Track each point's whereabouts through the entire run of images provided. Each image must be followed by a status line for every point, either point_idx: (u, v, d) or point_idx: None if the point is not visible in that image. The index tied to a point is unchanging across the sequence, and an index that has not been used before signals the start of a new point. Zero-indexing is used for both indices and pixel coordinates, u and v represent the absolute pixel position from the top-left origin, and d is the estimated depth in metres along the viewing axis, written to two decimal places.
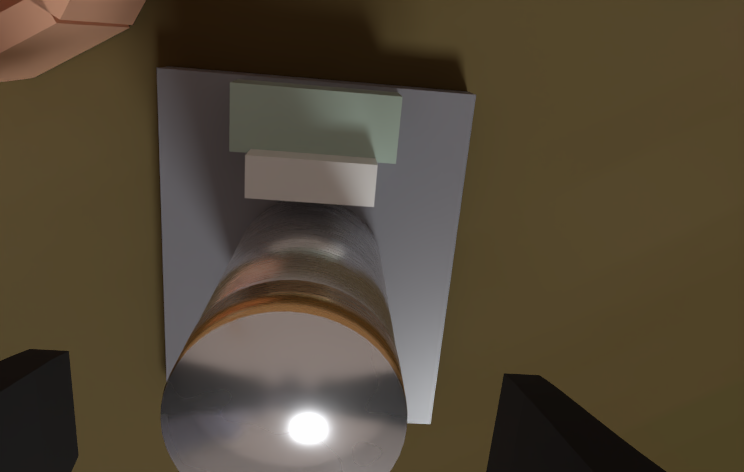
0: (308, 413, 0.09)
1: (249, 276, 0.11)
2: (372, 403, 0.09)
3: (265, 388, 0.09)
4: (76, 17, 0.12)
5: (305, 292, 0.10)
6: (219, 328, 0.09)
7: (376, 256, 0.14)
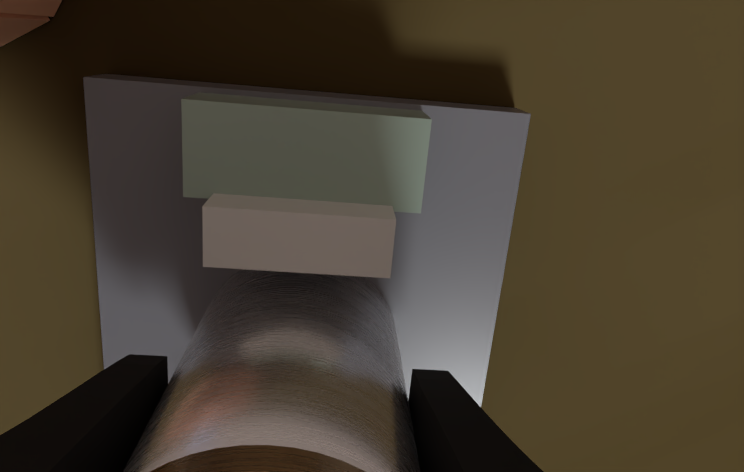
0: None
1: (191, 424, 0.07)
2: None
3: None
4: None
5: None
6: None
7: (392, 342, 0.10)
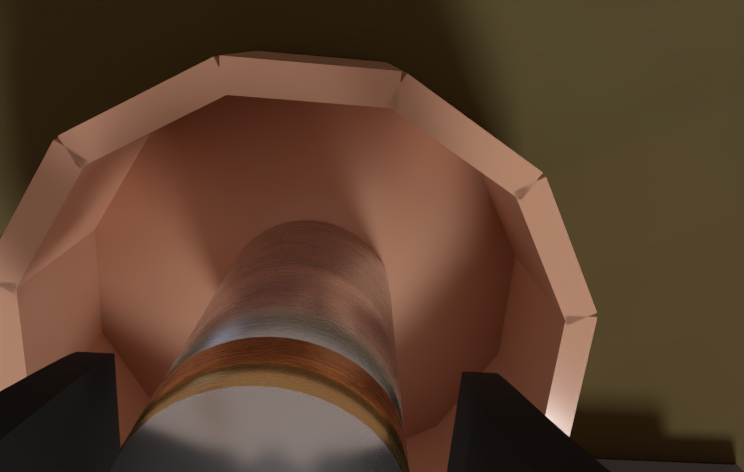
0: None
1: (216, 330, 0.09)
2: None
3: None
4: None
5: (281, 353, 0.08)
6: (167, 408, 0.07)
7: (381, 288, 0.12)
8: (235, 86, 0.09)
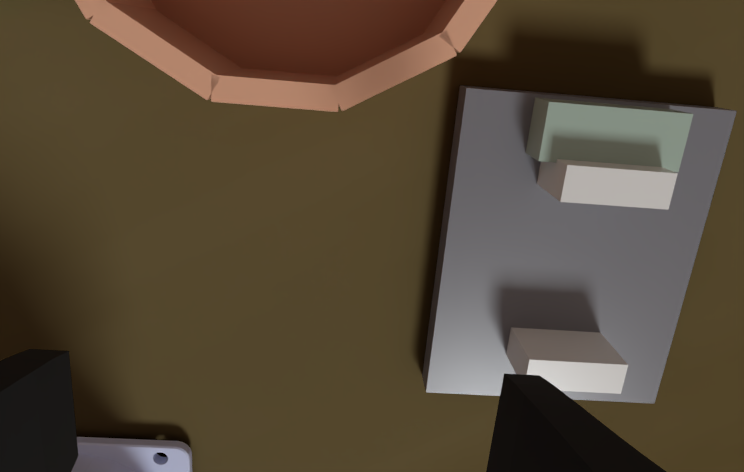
0: None
1: None
2: None
3: None
4: None
5: None
6: None
7: None
8: None
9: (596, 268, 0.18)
